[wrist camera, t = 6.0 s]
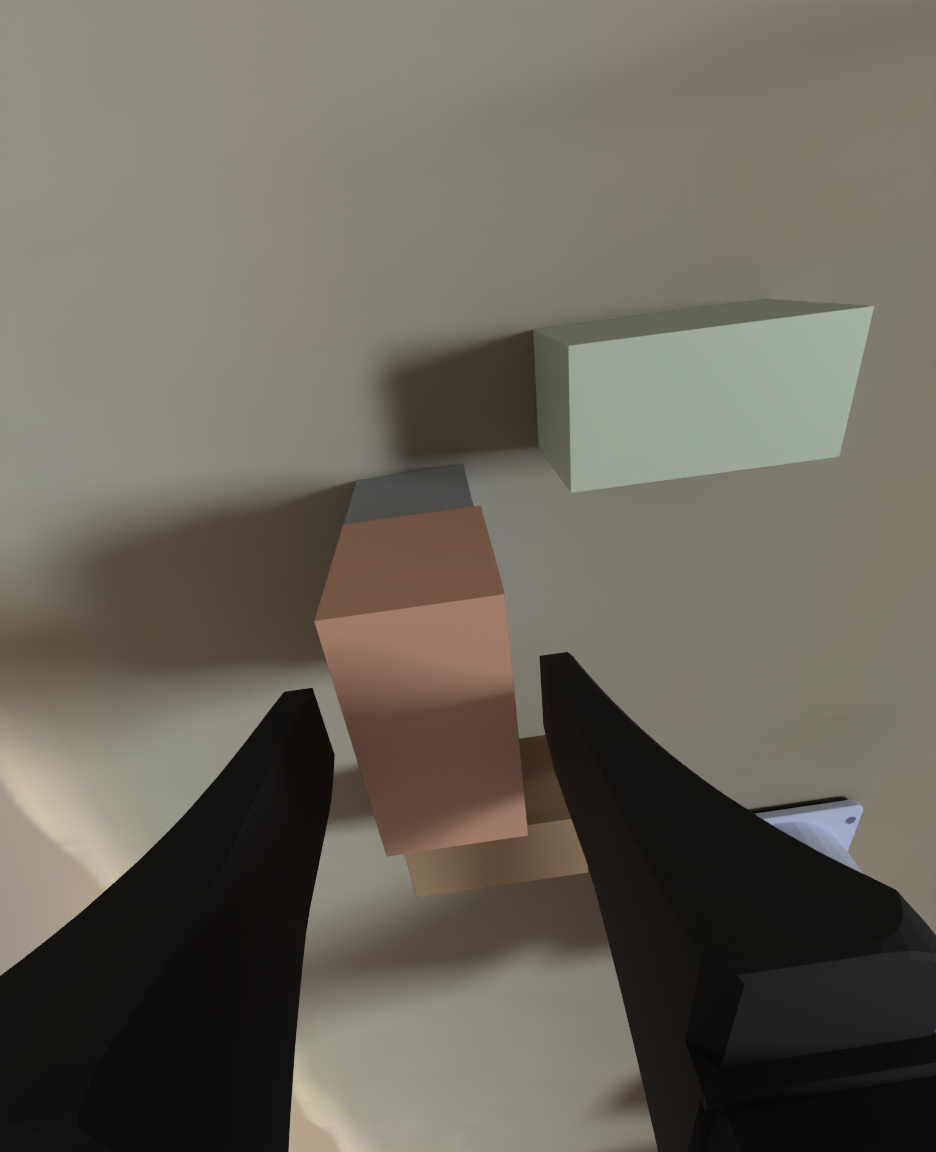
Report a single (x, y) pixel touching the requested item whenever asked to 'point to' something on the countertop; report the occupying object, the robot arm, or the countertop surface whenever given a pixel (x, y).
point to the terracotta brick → (426, 678)
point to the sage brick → (696, 390)
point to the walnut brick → (510, 840)
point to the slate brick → (409, 494)
